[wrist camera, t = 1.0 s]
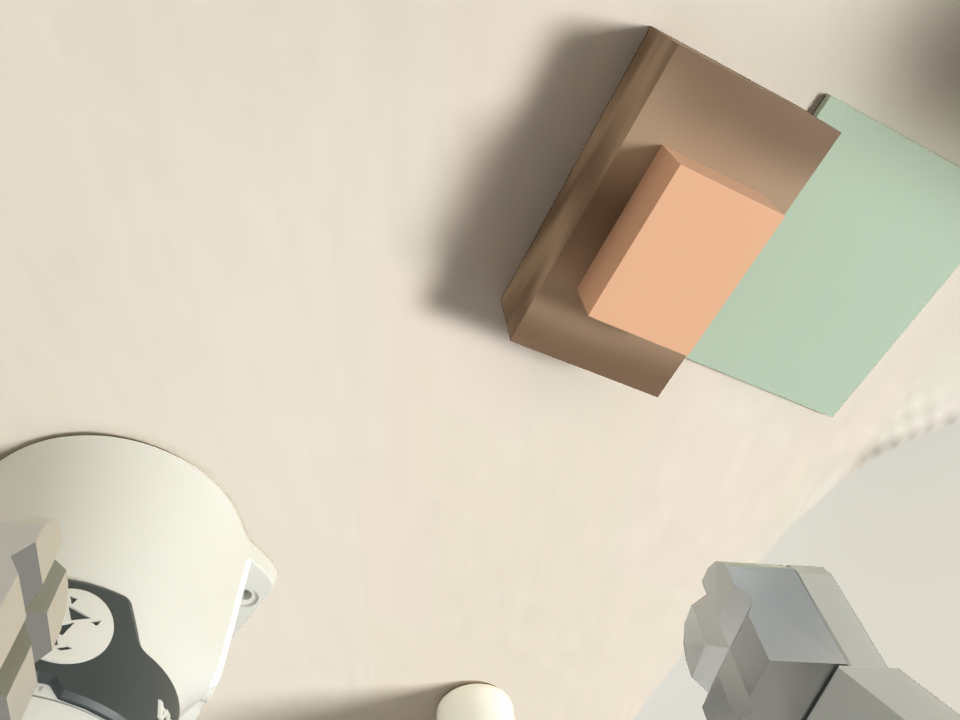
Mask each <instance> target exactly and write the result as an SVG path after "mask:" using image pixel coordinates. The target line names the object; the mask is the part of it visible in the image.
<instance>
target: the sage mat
mask: <svg viewBox="0 0 960 720" xmlns="http://www.w3.org/2000/svg"><path fill="white" fill-rule="evenodd" d="M813 115H814V116H815V117H817V118H819V119H820V120H822V121H823V122H825V123H827V124H828V125H830V126H832V127H833V128H835V129H836V130H838V131H840V132H841V134H840V136H839V137H838V139H837V140H836V141H835V143H834V144H833V146H832V147H831V149H830V150H829V152H828V153H827V154H826V156H825V157H824V159H823V160H822V162H821V163H820V164H819V166H818V167H817V169H816V170H815V172H814V173H813V175H812V176H811V177H810V179H809V180H808V182H807V183H806V185H805V186H804V187H803V189H802V190H801V192H800V193H799V195H798V196H797V198H796V199H795V200H794V202H793V203H792V205H791V206H790V208H789V209H788V210H787V212H786V213H785V217H784V219H783V220H782V222H781V223H780V225H779V226H778V227H777V229H776V230H775V232H774V233H773V235H772V236H771V237H770V239H769V240H768V242H767V243H766V245H765V246H764V248H763V249H762V250H761V252H760V253H759V255H758V256H757V258H756V259H755V260H754V262H753V263H752V265H751V266H750V268H749V269H748V270H747V272H746V273H745V275H744V276H743V278H742V279H741V281H740V282H739V283H738V285H737V286H736V288H735V289H734V291H733V292H732V293H731V295H730V296H729V298H728V299H727V301H726V302H725V303H724V305H723V306H722V308H721V309H720V311H719V312H718V314H717V315H716V316H715V318H714V319H713V321H712V322H711V324H710V325H709V326H708V328H707V329H706V331H705V332H704V334H703V335H702V336H701V338H700V339H699V341H698V342H697V344H696V345H695V346H694V348H693V349H692V351H691V352H690V354H689V355H688V356H686V357H685V358H687V359H690V360H692V361H695V362H697V363H700V364H702V365H705V366H707V367H710V368H712V369H714V370H717V371H719V372H722V373H724V374H727V375H729V376H732V377H734V378H737V379H739V380H742V381H744V382H746V383H749V384H751V385H754V386H756V387H759V388H761V389H764V390H766V391H769V392H771V393H774V394H776V395H778V396H781V397H783V398H786V399H788V400H791V401H793V402H796V403H798V404H801V405H803V406H806V407H808V408H810V409H813V410H815V411H818V412H820V413H823V414H825V415H828V416H830V417H833V416H834V415H835V413H836V412H837V411H838V410H839V409H840V407H841V406H842V405H843V404H844V403H845V401H846V400H847V399H848V398H849V397H850V395H851V394H852V393H853V392H854V391H855V389H856V388H857V387H858V386H859V385H860V383H861V382H862V381H863V380H864V379H865V377H866V376H867V375H868V374H869V373H870V371H871V370H872V369H873V368H874V367H875V365H876V364H877V363H878V362H879V361H880V359H881V358H882V357H883V356H884V355H885V353H886V352H887V351H888V350H889V349H890V347H891V346H892V345H893V344H894V343H895V341H896V340H897V339H898V338H899V337H900V335H901V334H902V333H903V332H904V331H905V329H906V328H907V327H908V326H909V324H910V323H911V322H912V321H913V320H914V318H915V317H916V316H917V315H918V314H919V312H920V311H921V310H922V309H923V308H924V306H925V305H926V304H927V303H928V302H929V300H930V299H931V298H932V297H933V296H934V294H935V293H936V292H937V291H938V290H939V288H940V287H941V286H942V285H943V284H944V282H945V281H946V280H947V279H948V278H949V276H950V275H951V274H952V273H953V272H954V270H955V269H956V268H957V267H958V266H959V264H960V167H958V166H956V165H954V164H952V163H951V162H949V161H947V160H945V159H943V158H942V157H940V156H938V155H936V154H934V153H933V152H931V151H929V150H927V149H925V148H924V147H922V146H920V145H918V144H917V143H915V142H913V141H911V140H909V139H908V138H906V137H904V136H902V135H900V134H899V133H897V132H895V131H893V130H891V129H890V128H888V127H886V126H884V125H882V124H881V123H879V122H877V121H875V120H874V119H872V118H870V117H868V116H866V115H865V114H863V113H861V112H859V111H857V110H856V109H854V108H852V107H850V106H848V105H847V104H845V103H843V102H841V101H839V100H838V99H836V98H834V97H832V96H830V95H829V94H826V96H825V97H824V99H823V100H822V102H821V103H820V105H819V106H818V108H817V109H816V111H815V112H814V114H813Z"/></svg>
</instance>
